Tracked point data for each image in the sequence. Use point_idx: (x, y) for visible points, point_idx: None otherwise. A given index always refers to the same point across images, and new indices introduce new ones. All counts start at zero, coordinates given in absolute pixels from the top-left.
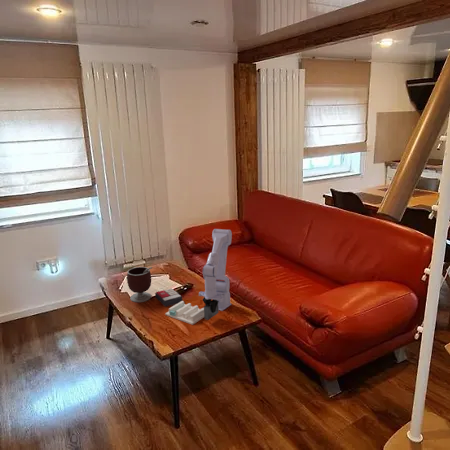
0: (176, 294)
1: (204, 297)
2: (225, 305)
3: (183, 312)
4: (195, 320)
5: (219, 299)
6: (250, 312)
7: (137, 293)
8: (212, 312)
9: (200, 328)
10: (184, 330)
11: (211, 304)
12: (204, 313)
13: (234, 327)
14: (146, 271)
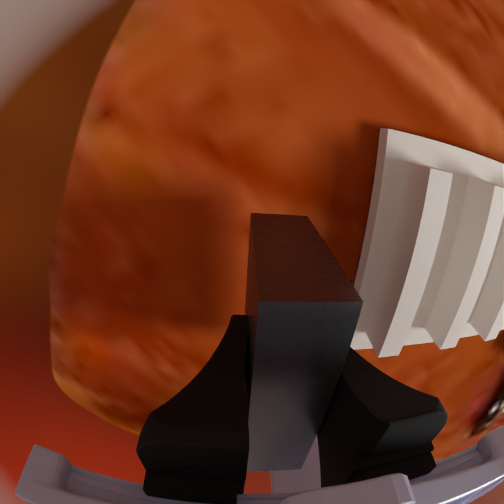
0: None
1: (425, 458)
2: None
3: (497, 247)
4: (388, 183)
5: (44, 497)
6: (123, 427)
7: None
8: (241, 316)
9: (278, 102)
10: (382, 23)
11: (228, 398)
12: (318, 240)
13: (55, 270)
14: None
